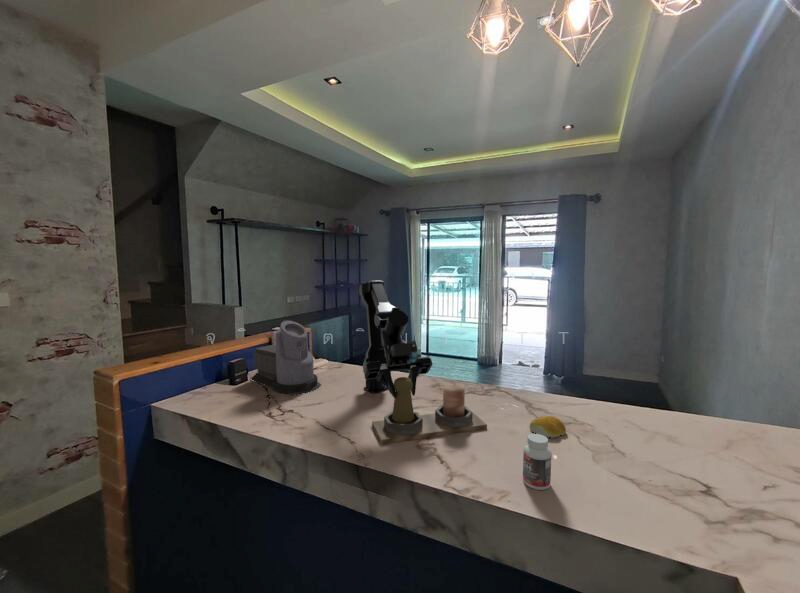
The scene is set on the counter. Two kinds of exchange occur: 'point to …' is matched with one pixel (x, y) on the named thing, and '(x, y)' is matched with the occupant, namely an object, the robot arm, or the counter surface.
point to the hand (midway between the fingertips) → (404, 396)
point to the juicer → (287, 362)
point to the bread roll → (548, 426)
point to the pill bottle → (537, 462)
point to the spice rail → (432, 420)
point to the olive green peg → (403, 400)
